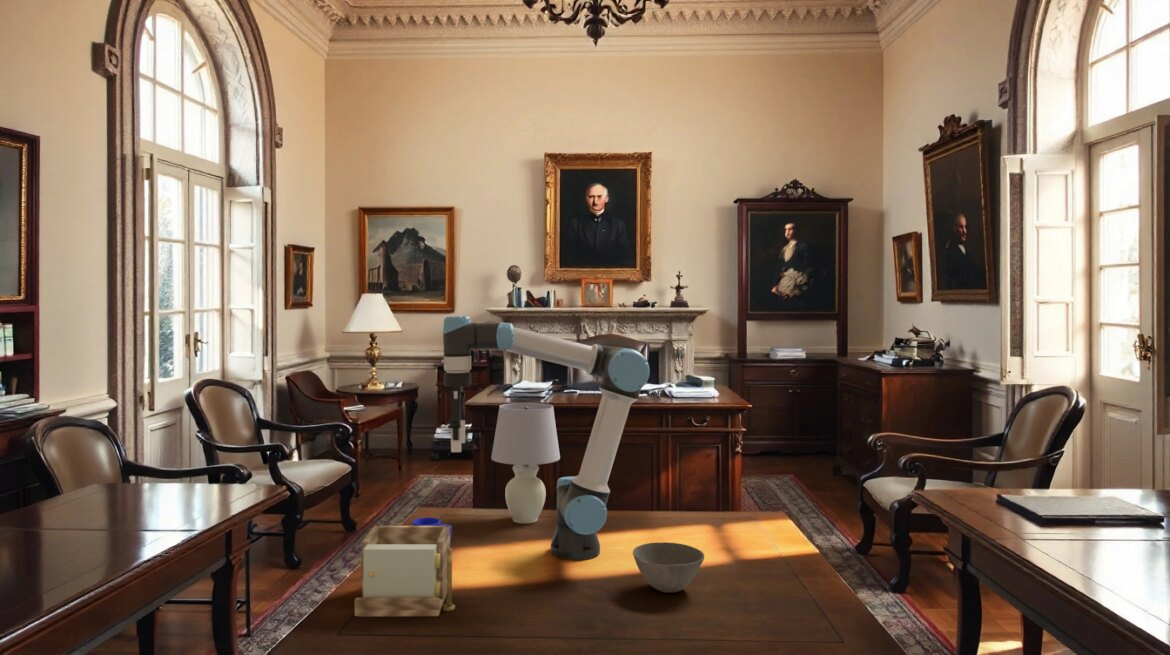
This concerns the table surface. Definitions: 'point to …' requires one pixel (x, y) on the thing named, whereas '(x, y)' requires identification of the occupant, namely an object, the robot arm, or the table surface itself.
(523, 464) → the lamp
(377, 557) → the door
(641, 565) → the bowl
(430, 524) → the mug
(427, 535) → the cabinet
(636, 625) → the table surface
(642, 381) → the robot arm
